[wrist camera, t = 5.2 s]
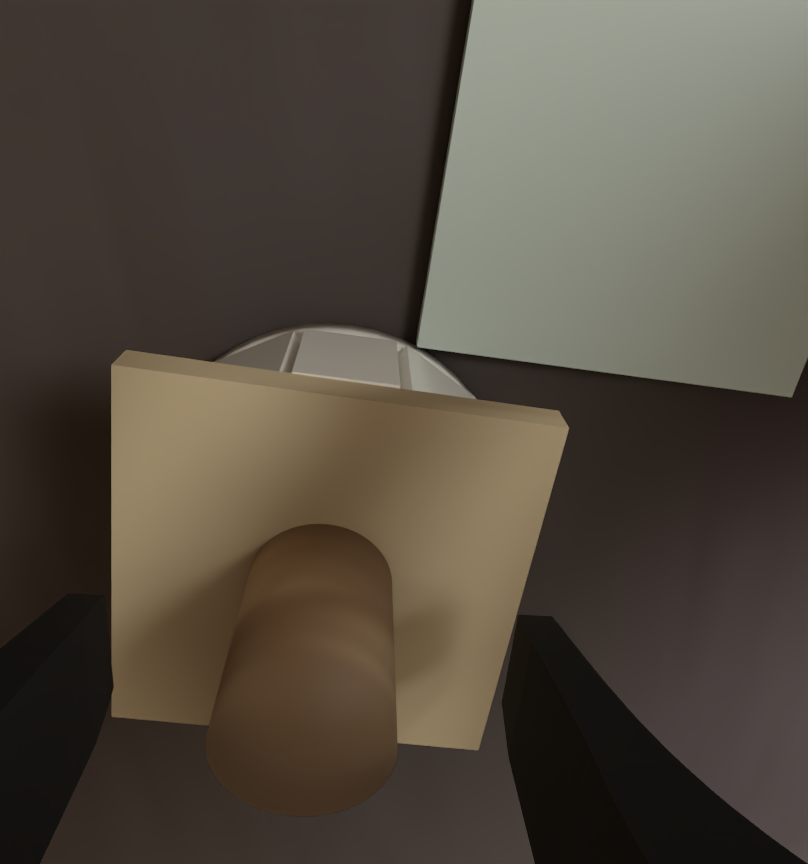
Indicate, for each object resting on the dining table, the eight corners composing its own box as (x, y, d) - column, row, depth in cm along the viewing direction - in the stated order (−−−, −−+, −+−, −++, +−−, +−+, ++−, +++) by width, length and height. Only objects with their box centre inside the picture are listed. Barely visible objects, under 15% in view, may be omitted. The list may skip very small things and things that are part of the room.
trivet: (929, 16, 14) (944, 13, 14) (782, 391, 18) (791, 397, 17) (483, -69, 14) (486, -73, 13) (415, 342, 17) (416, 347, 16)
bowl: (531, 348, 17) (567, 407, 14) (465, 633, 20) (482, 732, 17) (163, 298, 16) (111, 348, 13) (158, 603, 20) (116, 702, 16)
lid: (559, 410, 14) (643, 555, 9) (474, 722, 17) (507, 937, 13) (126, 350, 13) (0, 477, 9) (123, 689, 16) (30, 905, 12)
